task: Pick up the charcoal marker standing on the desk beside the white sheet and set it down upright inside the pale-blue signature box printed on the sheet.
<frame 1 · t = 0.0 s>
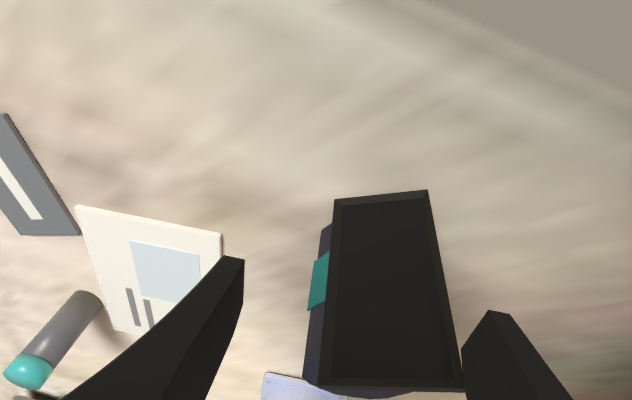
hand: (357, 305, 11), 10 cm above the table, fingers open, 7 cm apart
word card: (16, 180, 23), on the table
paper: (161, 286, 28), on the table
marker: (87, 300, 30), on the table
speaker: (375, 238, 22), on the table
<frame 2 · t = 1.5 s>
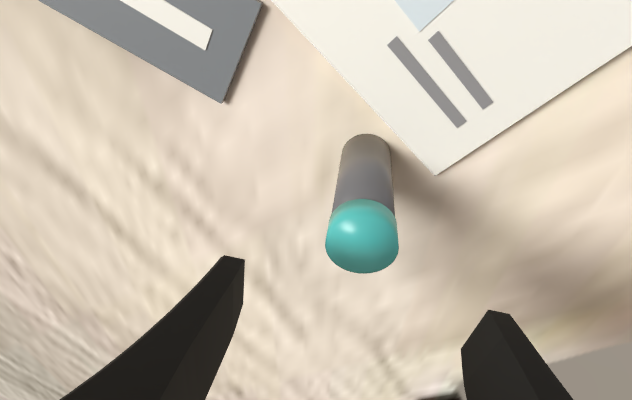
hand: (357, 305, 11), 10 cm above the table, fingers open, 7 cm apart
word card: (148, 1, 15), on the table
marker: (365, 156, 18), on the table
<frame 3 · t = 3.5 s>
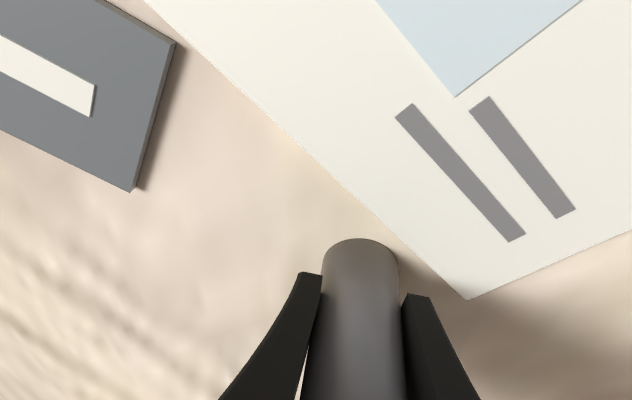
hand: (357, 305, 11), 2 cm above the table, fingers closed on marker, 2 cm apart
paper: (486, 4, 7), on the table
marker: (359, 266, 12), on the table, touching gripper
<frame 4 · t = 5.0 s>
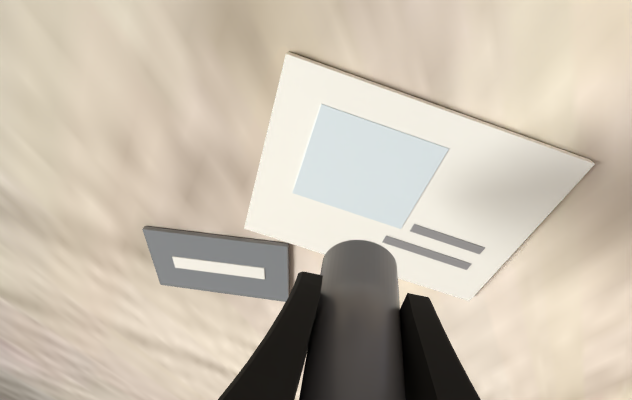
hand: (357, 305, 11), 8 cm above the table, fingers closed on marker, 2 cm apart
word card: (220, 263, 23), on the table
paper: (394, 196, 18), on the table
marker: (359, 267, 12), point 7 cm above the table, touching gripper
when the fingers open (3 cm above the table, at t = 6.6 s): marker stays where it is, resting on paper.
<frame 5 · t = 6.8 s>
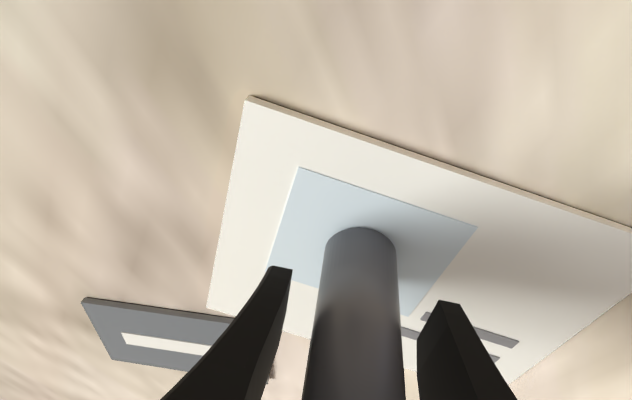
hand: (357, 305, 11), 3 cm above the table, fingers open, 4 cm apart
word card: (182, 340, 18), on the table
paper: (400, 277, 14), on the table
marker: (359, 254, 12), point 1 cm above the table, touching paper
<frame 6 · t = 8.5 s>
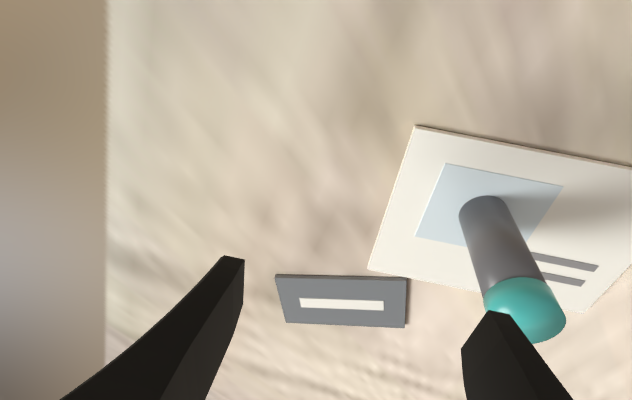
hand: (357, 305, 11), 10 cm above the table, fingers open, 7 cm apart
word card: (341, 300, 26), on the table
paper: (508, 229, 20), on the table
marker: (482, 214, 19), resting on paper
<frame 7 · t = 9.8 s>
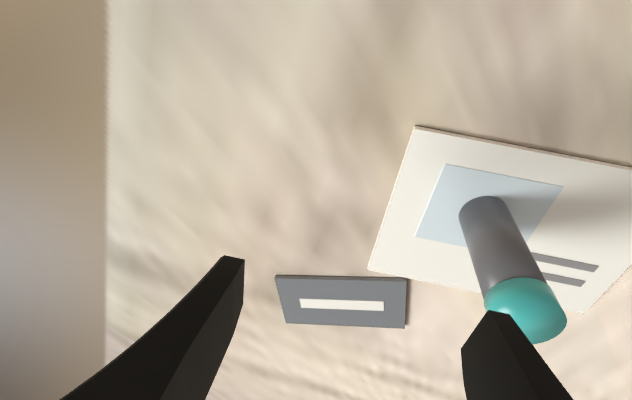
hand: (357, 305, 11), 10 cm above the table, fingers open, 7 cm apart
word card: (341, 300, 26), on the table
paper: (508, 229, 20), on the table
marker: (482, 214, 19), resting on paper
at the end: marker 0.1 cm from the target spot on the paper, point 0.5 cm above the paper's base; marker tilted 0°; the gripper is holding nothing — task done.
